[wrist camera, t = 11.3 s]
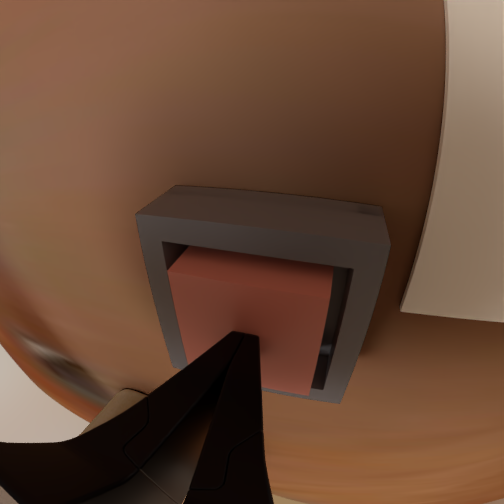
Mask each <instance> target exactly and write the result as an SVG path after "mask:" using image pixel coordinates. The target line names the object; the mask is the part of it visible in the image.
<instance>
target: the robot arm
mask: <svg viewBox="0 0 504 504" xmlns="http://www.w3.org/2000/svg"><path fill="white" fill-rule="evenodd" d="M185 497H186V498H185ZM184 499H185V501H184V503H183V504H274V502H273V497H272V493H271V488H270V483H269V479H268V473H267V467H266V461H265V450H264V433H263V410H262V385H261V360H260V338H259V336H258V335H253V334H245V333H243V332H238V331H231V332H230V333H228V334H227V335H226V336H225V337H223V338H222V339H221V340H220V341H218V342H217V343H216V344H214V345H213V346H212V347H211V348H209V349H208V350H207V351H206V352H204V353H203V354H202V355H200V356H199V357H198V358H196V359H195V360H194V361H193V362H191V363H190V364H189V365H187V366H186V367H185V368H183V369H182V370H181V371H179V372H178V373H177V374H175V375H174V376H173V377H171V378H170V379H169V380H167V381H166V382H165V383H163V384H162V385H161V386H159V387H158V388H157V389H155V390H154V391H153V392H151V393H150V394H148V397H147V396H146V397H144V398H143V399H141V400H140V401H139V402H137V403H136V404H134V405H133V406H131V407H130V408H128V409H127V410H125V411H124V412H122V413H121V414H119V415H117V416H115V417H114V418H112V419H110V420H108V421H107V422H105V423H103V424H101V425H99V426H97V427H95V428H93V429H91V430H89V431H87V432H85V433H83V434H82V435H80V436H77V437H75V438H73V439H70V440H67V441H62V442H54V443H5V442H0V504H182V502H183V500H184Z"/></svg>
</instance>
